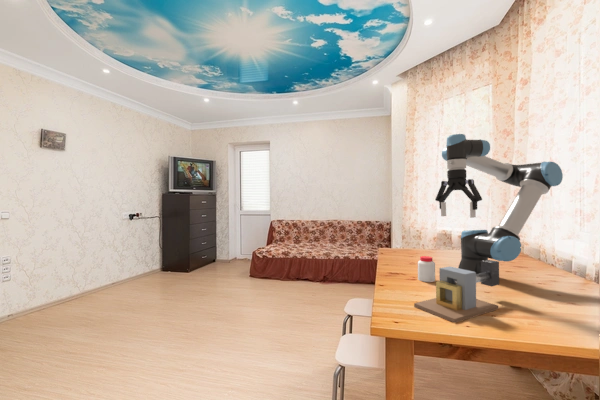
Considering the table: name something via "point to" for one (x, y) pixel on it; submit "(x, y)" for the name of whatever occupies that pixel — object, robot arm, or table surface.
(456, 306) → the frame
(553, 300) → the table surface
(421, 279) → the pill bottle
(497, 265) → the shaft
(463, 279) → the bearing block
